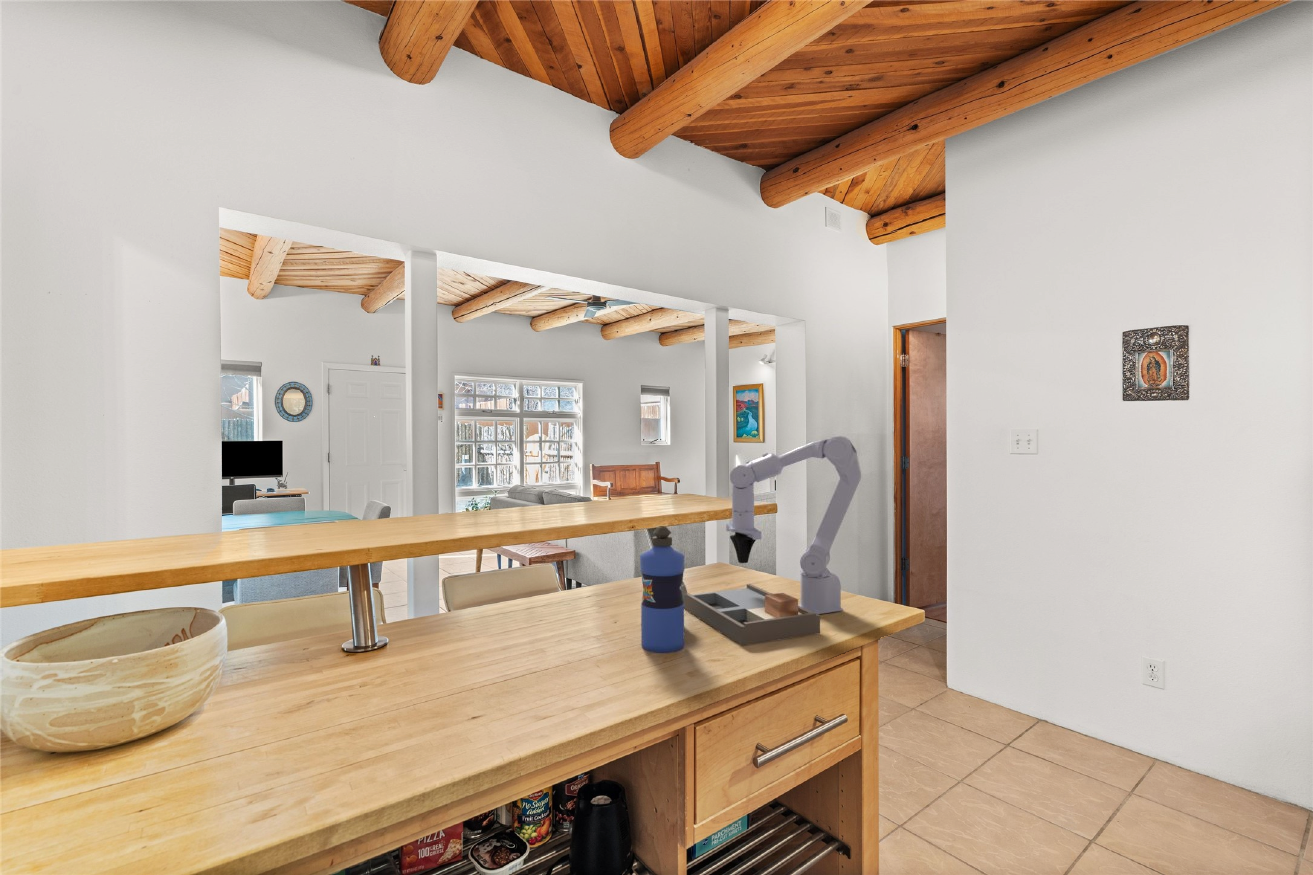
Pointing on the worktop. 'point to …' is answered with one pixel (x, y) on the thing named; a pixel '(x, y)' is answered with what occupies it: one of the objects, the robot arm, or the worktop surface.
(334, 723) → the worktop surface
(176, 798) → the worktop surface
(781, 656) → the worktop surface
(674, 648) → the water bottle
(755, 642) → the box
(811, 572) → the robot arm
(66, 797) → the worktop surface
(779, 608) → the block
